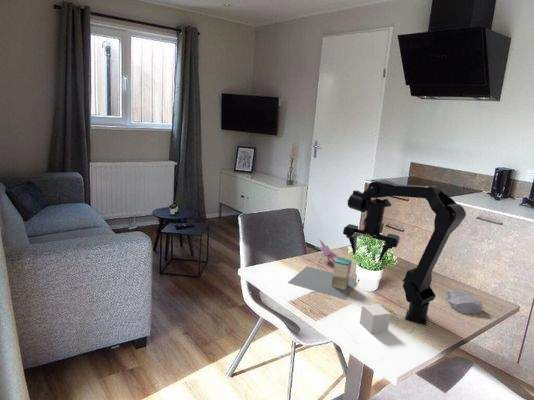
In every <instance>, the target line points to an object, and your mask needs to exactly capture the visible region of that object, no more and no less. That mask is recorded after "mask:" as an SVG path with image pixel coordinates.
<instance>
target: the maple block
mask: <svg viewBox="0 0 534 400" xmlns="http://www.w3.org/2000/svg"><path fill="white" fill-rule="evenodd" d="M334 260H335V263H334V264H333V270H332V271H333V272H332V273H333V278H332V286H333V287H336V288H340V289H344V290H345V289H346V287H347V286H348V283H349V277H350V275H351V268H352V261H353V260H352V259H349V258H346V257H342V256H338V258H335V259H334Z"/></svg>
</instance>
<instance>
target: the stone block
mask: <svg viewBox="0 0 534 400" xmlns="http://www.w3.org/2000/svg"><path fill="white" fill-rule="evenodd" d="M444 296H445V297H446V299H447V301H448V304H449V305H450V307H451V308H452V309H453V310H454V311H456V312H458V313H464V314H481V313H482V311H483V303H482V302H481V301H480V300H479V299H478V298H476V297H473V295H472V293H471V292H469V291H467V292H465V291H462V290H457V289H456V290H453V289H452V290H451V289H450V290H447V291H445V293H444Z"/></svg>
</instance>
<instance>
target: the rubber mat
mask: <svg viewBox="0 0 534 400" xmlns="http://www.w3.org/2000/svg"><path fill="white" fill-rule="evenodd" d="M332 278H333V272H330V271H327V270H324V269H323V270H322V269H319V268H315V267H311V266H307V265H306V266H305V267H304V268H303V269H302V270H301V271H299V272H298V273H297V274H296V275H295V276H294V277H292V278H291V279H289V281H288V282H287V284H290V285H293V286H298V287H300V288H304V289H307V290H310V291H314V292H318V293H322V294H324V295H328V296H332V297H335V298H337V299H342V300H347V298H348V297H349V296H350V295H351V293H352V292H353V290H354V289H355V288H356V286H357V285H358V283H357V284H356V279H357V278H353V277H350V276H349V283H348V286H347V287H346V289H345V290H344V289H340V288H336V287H333V286H332Z"/></svg>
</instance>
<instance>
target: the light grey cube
mask: <svg viewBox="0 0 534 400" xmlns="http://www.w3.org/2000/svg"><path fill="white" fill-rule="evenodd" d="M390 319H391V312H389V311H388V310H387V308H385V307H383V306H382V305H381V304H380V303H376V304H375V303H374V304H365V305H362V306H361V311H360V319H359V324H360V325H361V326H362V327H363V328H364V329H365V330H366V331H367V332H368V333H369V334H378V333H385V332H388V331H389V326H390Z"/></svg>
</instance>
